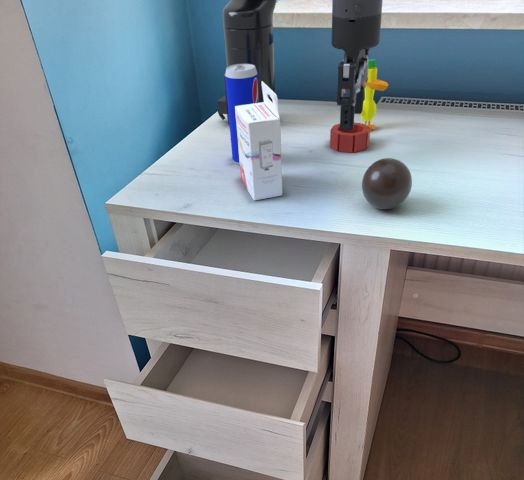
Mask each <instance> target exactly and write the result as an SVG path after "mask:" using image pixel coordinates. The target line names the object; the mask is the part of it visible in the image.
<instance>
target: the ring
mask: <svg viewBox="0 0 524 480" xmlns="http://www.w3.org/2000/svg"><path fill="white" fill-rule="evenodd" d="M367 125H368V124H367ZM367 125H365V123H363V122H356V121H354V127H353V129H352V130H341V129H340V123H336V124H333V125H332V127H331V128H330V130H329V131H330V133H329V148H331V149H333V150H335V151H336V152H339V153H349V154H350V153H358V152H361V151H366V150H367V149H368V147H369V145H370V138H371V131H370V127H369V126H367Z"/></svg>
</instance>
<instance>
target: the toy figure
mask: <svg viewBox="0 0 524 480" xmlns="http://www.w3.org/2000/svg"><path fill="white" fill-rule="evenodd" d="M368 61H369V62H368V76H367V78H368V81H367V83H365V84H366V88H365V90H364V99H363V111H362V113H361V114H359V116H360V118H361V119H362V121H363V122H364V124H365V125H367V126H369V127H370V132H372V131H374V130H376V126H375V124H371V121H372V120H373V119H374V117H375V116H376V114H377V103H376V101H375V100H374V96H375V93H376V91H380V92H383V91H385V90H386V89H388V87H389V83H388V82H387V81H384V80H382V79H378V65H377V63H376V62H377V59H376V58H375V59H374V58H373V59H368Z"/></svg>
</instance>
